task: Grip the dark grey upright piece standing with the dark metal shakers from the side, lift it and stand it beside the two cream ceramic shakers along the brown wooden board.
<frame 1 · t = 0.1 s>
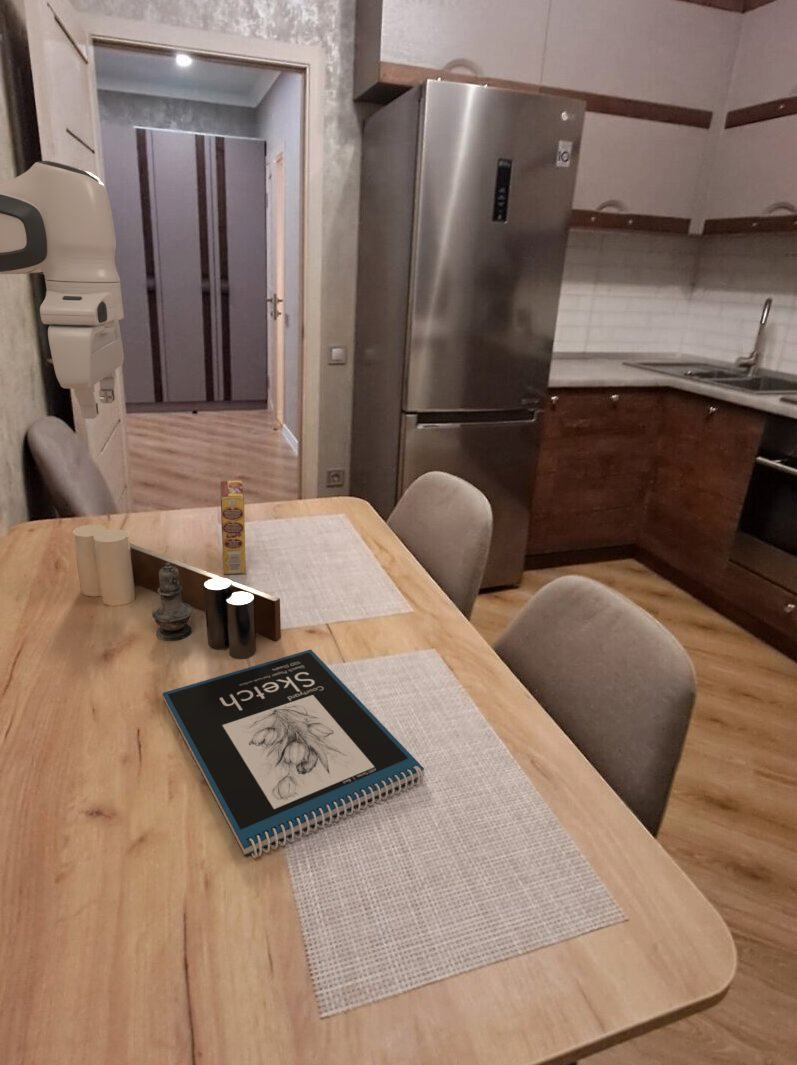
hand: (99, 409, 92), 34 cm above the table, tool pointing down, fingers open, 8 cm apart
sketchbook: (285, 740, 82), on the table
dark metal shakers: (231, 646, 100), on the table
brown wooden board: (190, 604, 111), on the table
dark grey upright piece: (174, 632, 103), on the table
candy box: (235, 565, 126), on the table
cream shakers: (109, 594, 113), on the table
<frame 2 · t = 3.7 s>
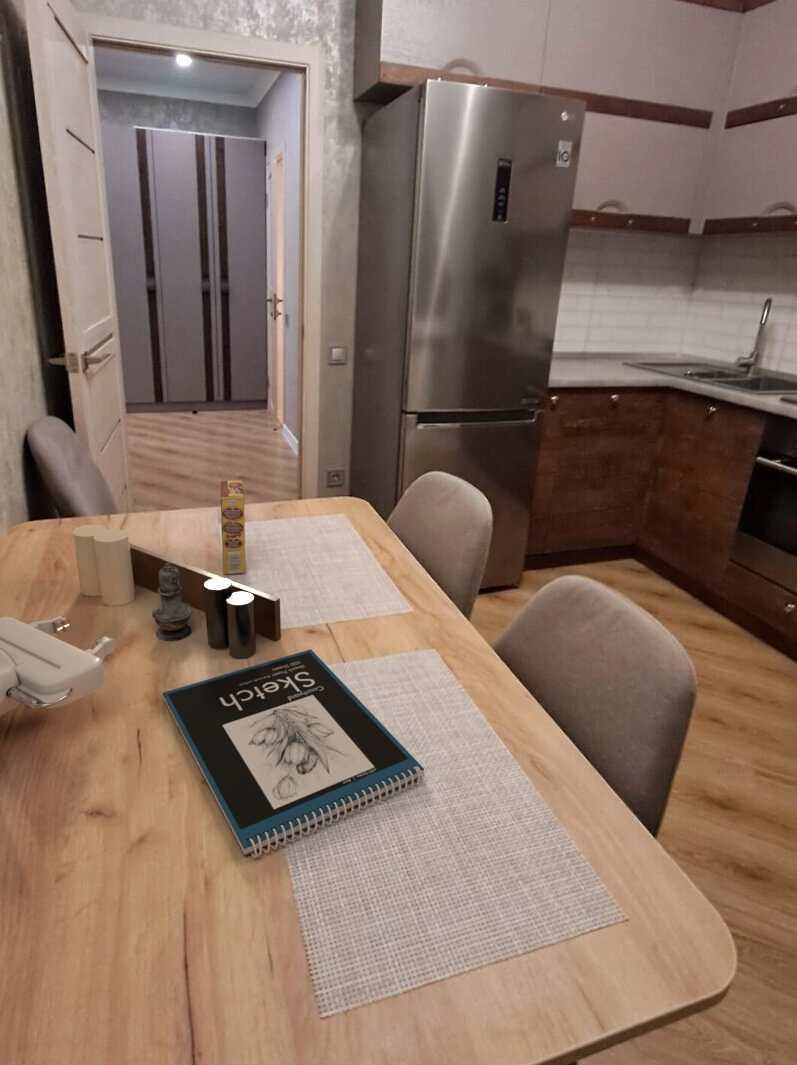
hand: (88, 632, 89), 7 cm above the table, tool horizontal, fingers open, 8 cm apart
nothing on the table moved.
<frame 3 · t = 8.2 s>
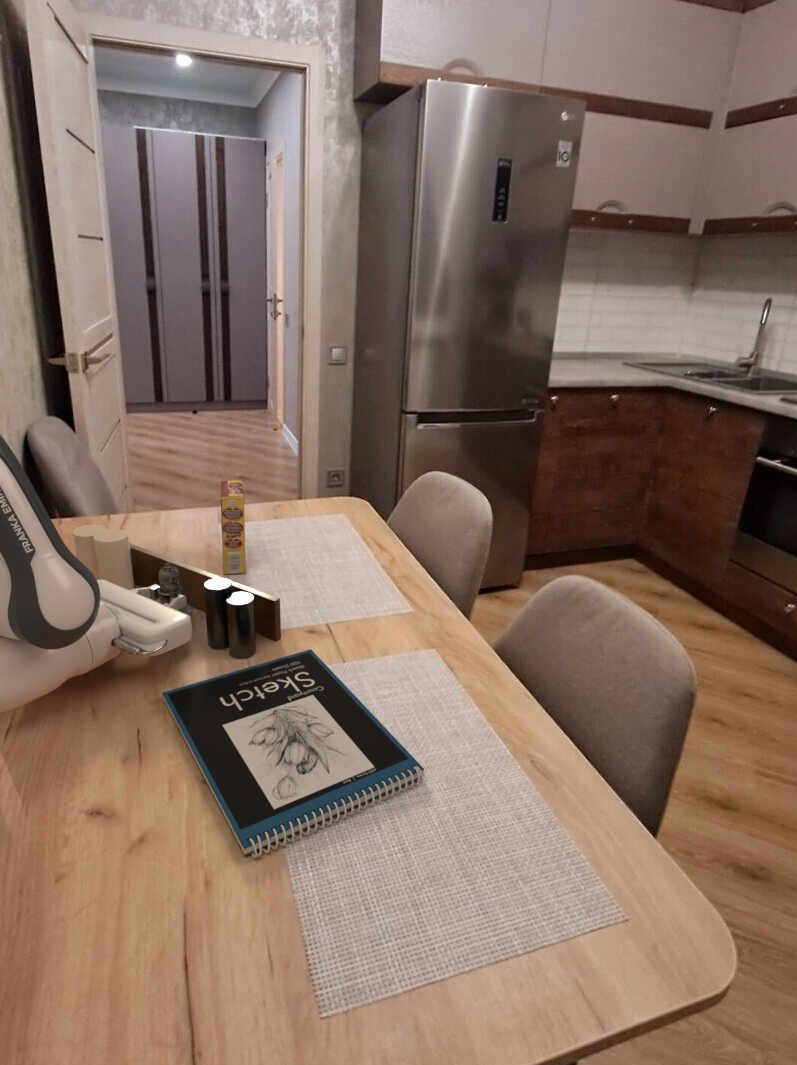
hand: (171, 594, 101), 7 cm above the table, tool horizontal, fingers closed on dark grey upright piece, 3 cm apart
dark grey upright piece: (174, 632, 103), on the table, touching gripper
everything else where it was.
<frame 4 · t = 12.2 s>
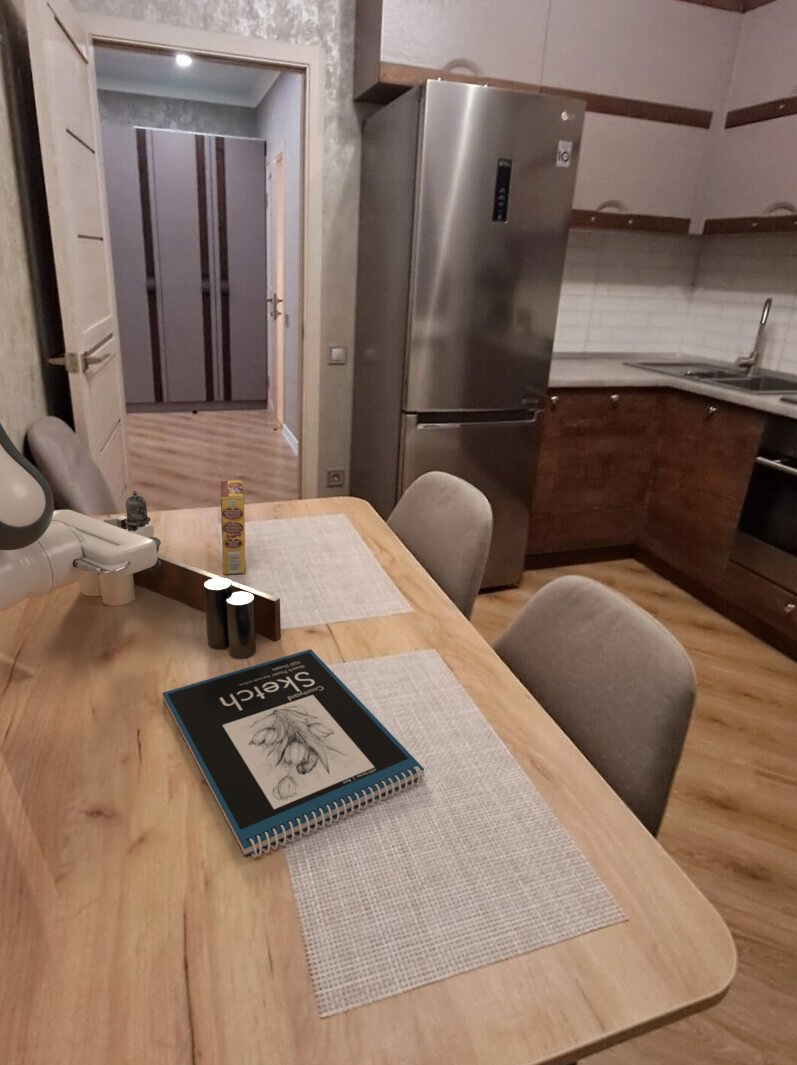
hand: (139, 525, 99), 16 cm above the table, tool horizontal, fingers closed on dark grey upright piece, 3 cm apart
dark grey upright piece: (142, 566, 102), point 10 cm above the table, touching gripper
everything else where it was.
when the fingers open (6 cm above the table, at t = 16.2 s): dark grey upright piece stays where it is, on the table.
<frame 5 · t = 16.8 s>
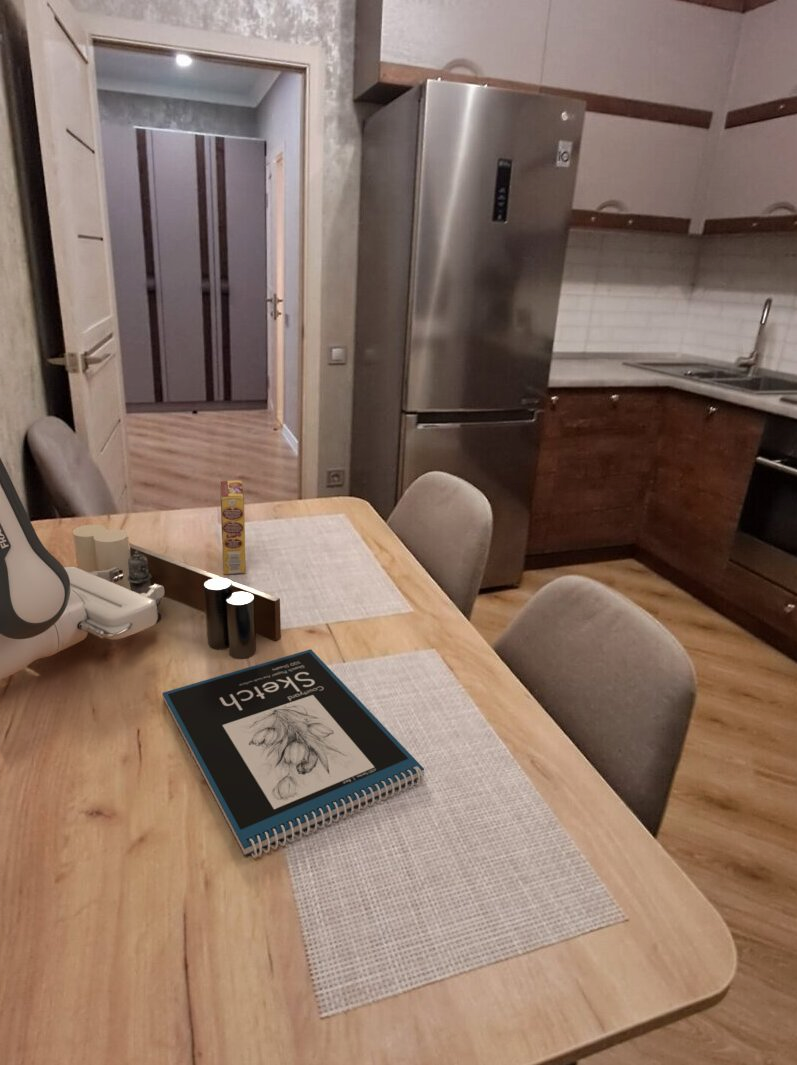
hand: (140, 580, 104), 7 cm above the table, tool horizontal, fingers open, 8 cm apart
dark grey upright piece: (144, 619, 106), on the table
everything else where it was.
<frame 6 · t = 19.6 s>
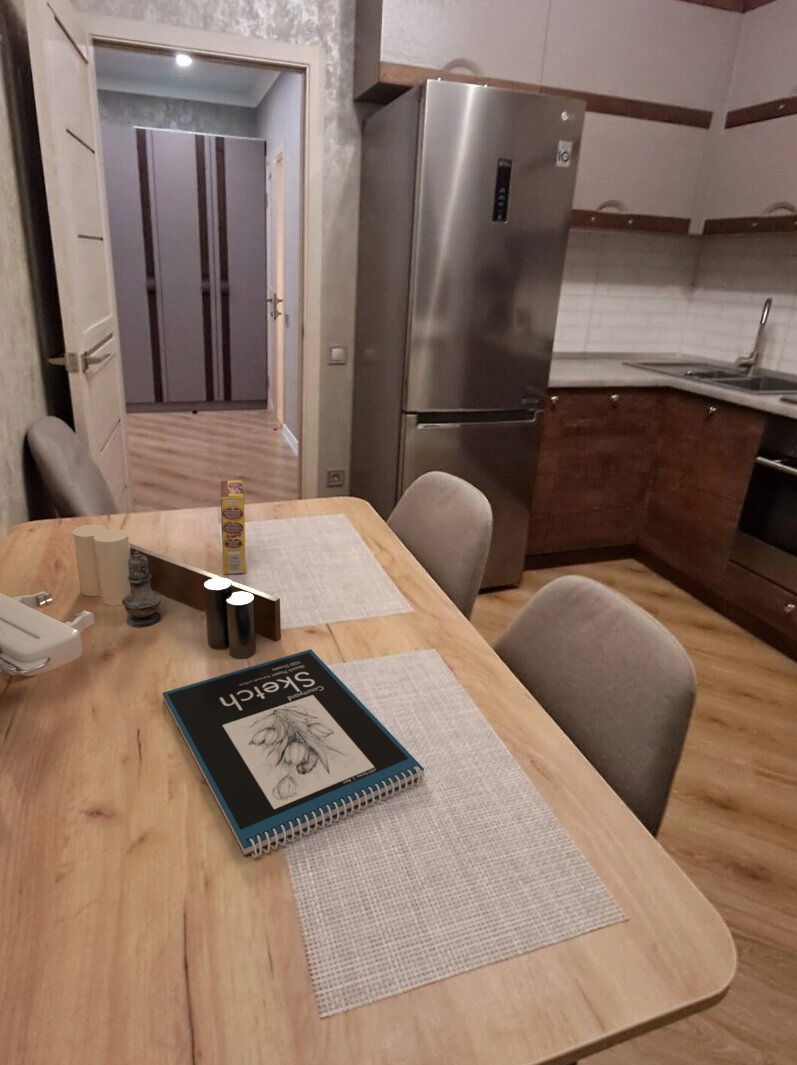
hand: (69, 606, 94), 8 cm above the table, tool horizontal, fingers open, 8 cm apart
nothing on the table moved.
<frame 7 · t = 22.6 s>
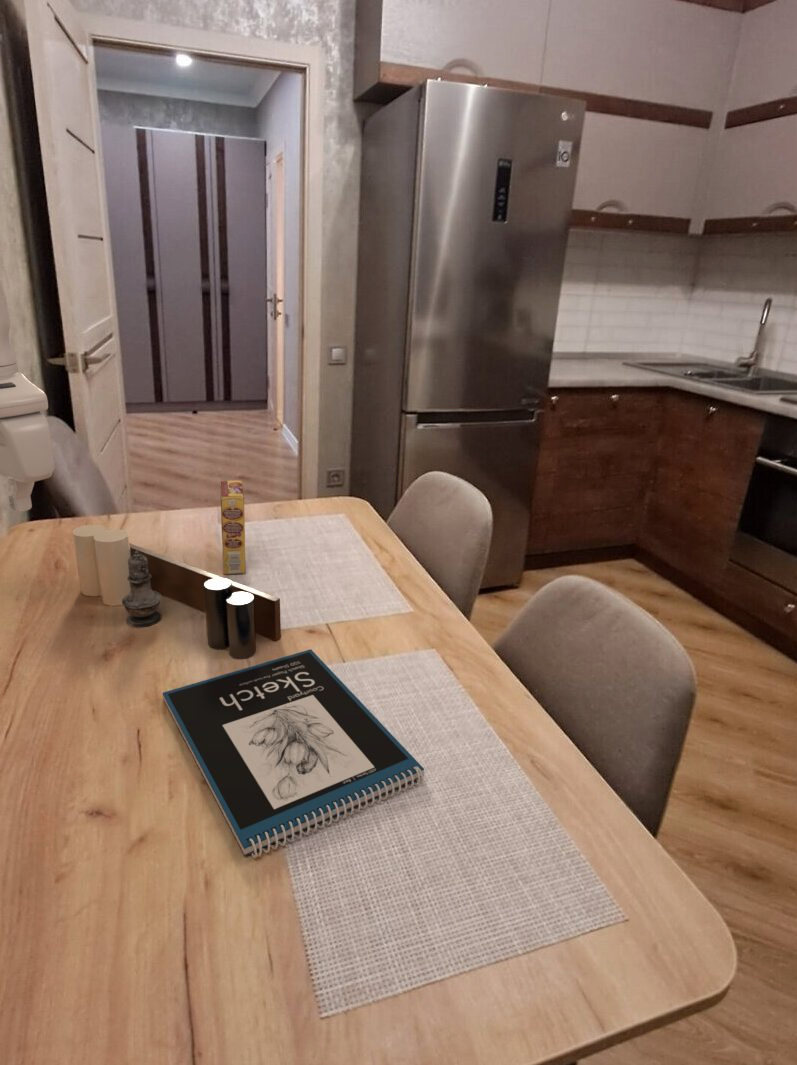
nothing on the table moved.
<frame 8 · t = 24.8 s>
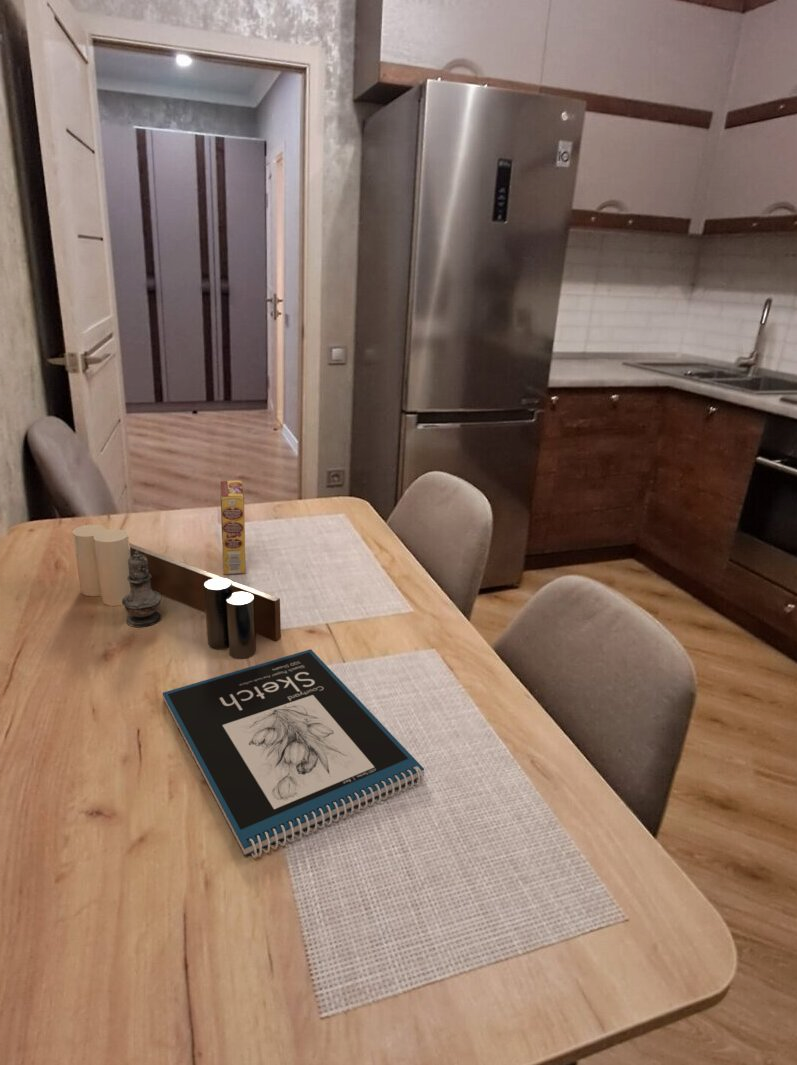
nothing on the table moved.
at the end: dark grey upright piece 0.2 cm from the target spot, on the table; dark grey upright piece tilted 0°; the gripper is holding nothing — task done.
